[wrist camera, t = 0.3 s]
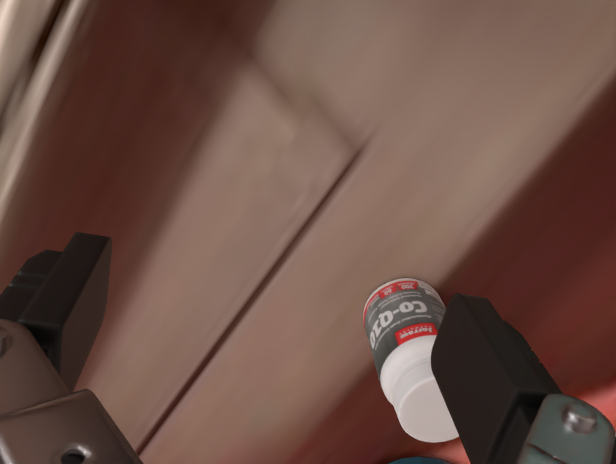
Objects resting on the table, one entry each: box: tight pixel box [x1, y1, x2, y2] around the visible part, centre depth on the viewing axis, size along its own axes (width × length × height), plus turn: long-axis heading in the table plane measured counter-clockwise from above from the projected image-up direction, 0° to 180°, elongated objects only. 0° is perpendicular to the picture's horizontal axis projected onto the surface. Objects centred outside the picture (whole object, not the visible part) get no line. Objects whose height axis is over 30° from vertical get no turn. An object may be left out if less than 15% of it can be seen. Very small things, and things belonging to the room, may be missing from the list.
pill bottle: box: [363, 278, 459, 442], centre depth 31 cm, size 5×5×8 cm
